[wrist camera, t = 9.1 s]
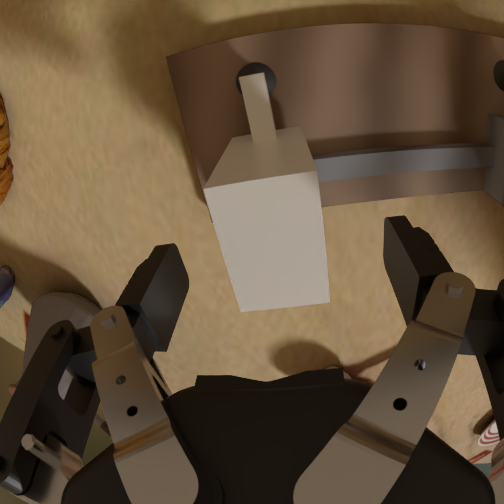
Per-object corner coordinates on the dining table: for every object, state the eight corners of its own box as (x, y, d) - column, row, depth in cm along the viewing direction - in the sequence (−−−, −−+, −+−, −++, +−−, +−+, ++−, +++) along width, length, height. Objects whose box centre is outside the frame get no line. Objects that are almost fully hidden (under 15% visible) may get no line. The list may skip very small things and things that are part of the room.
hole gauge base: (515, 42, 13) (580, 53, 7) (515, 179, 19) (568, 222, 13) (173, 57, 17) (123, 57, 11) (215, 213, 24) (193, 275, 17)
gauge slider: (289, 68, 16) (300, 68, 8) (312, 211, 21) (329, 302, 13) (221, 80, 16) (176, 94, 9) (254, 219, 22) (240, 312, 14)
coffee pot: (52, 331, 35) (3, 421, 22) (36, 266, 29) (-39, 367, 16) (202, 382, 37) (180, 492, 24) (219, 324, 30) (191, 470, 18)
